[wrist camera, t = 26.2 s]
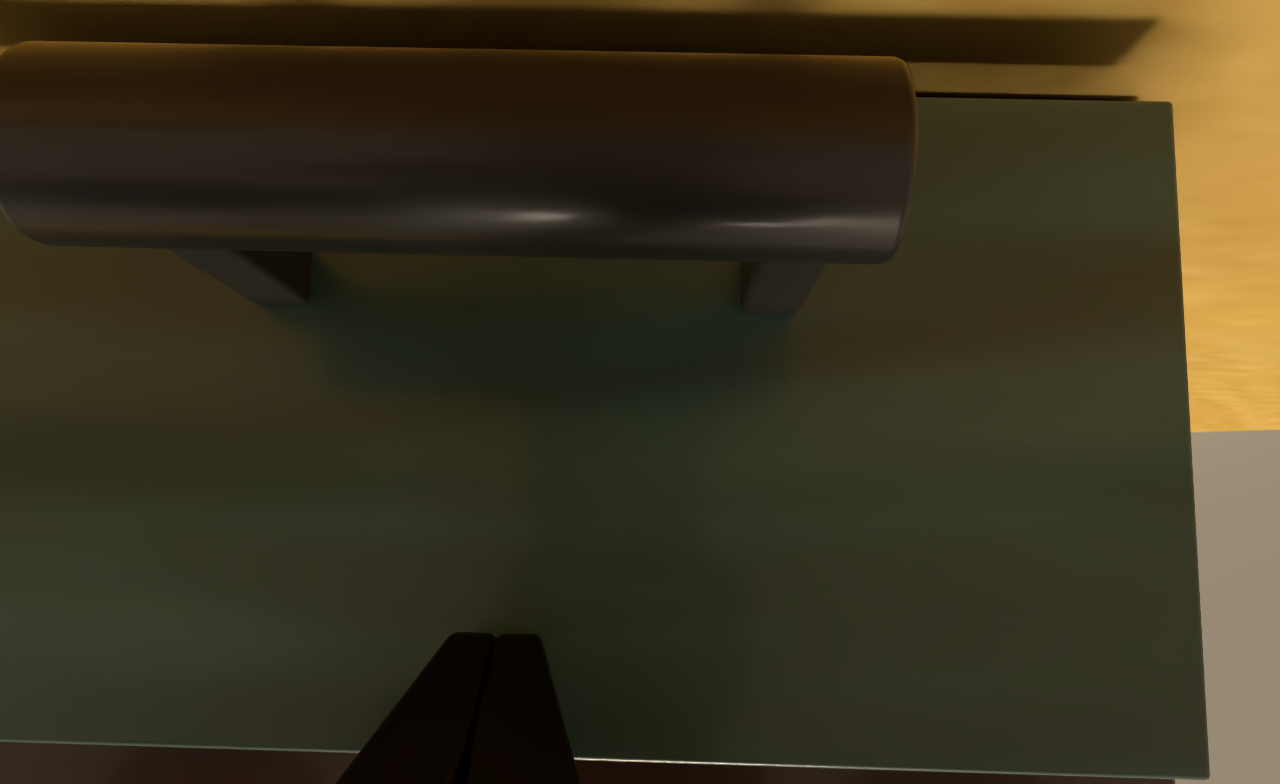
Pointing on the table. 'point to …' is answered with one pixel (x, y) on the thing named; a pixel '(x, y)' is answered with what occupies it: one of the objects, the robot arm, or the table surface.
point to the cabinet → (297, 780)
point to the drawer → (594, 405)
